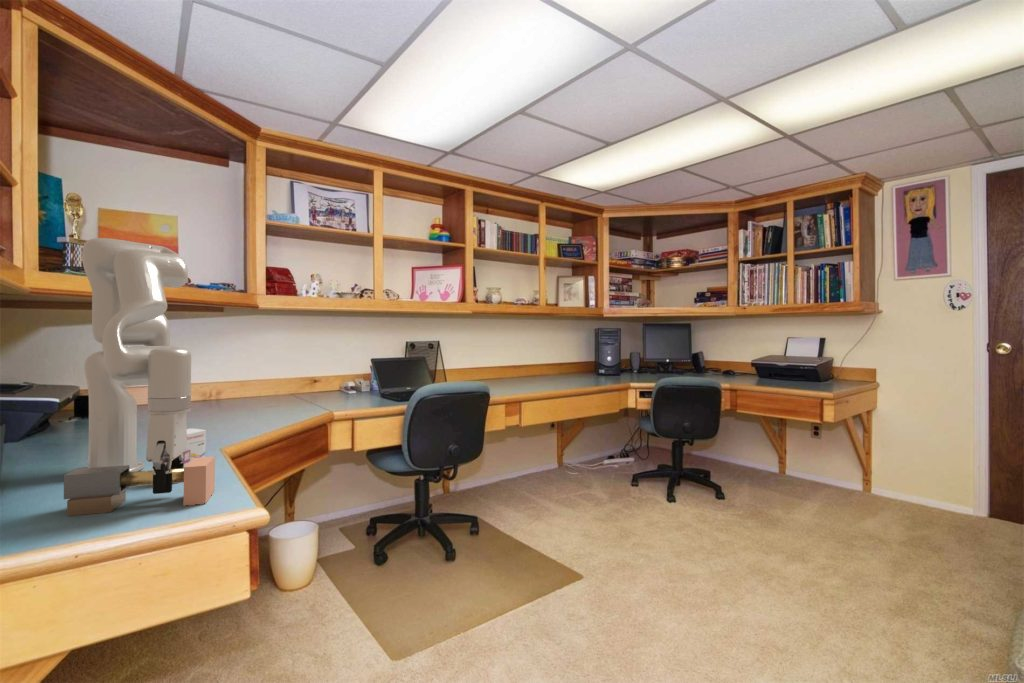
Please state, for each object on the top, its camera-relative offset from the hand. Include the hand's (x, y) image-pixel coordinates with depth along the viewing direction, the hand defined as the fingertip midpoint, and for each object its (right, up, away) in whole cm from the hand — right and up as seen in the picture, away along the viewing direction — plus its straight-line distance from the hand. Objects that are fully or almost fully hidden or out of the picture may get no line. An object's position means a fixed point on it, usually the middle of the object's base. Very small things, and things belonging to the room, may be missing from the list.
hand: (168, 486), depth 101 cm
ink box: (-8, -3, +16) cm, 19 cm away
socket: (+5, -3, +2) cm, 7 cm away
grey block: (-12, -3, -4) cm, 13 cm away
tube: (-2, +1, -1) cm, 2 cm away
